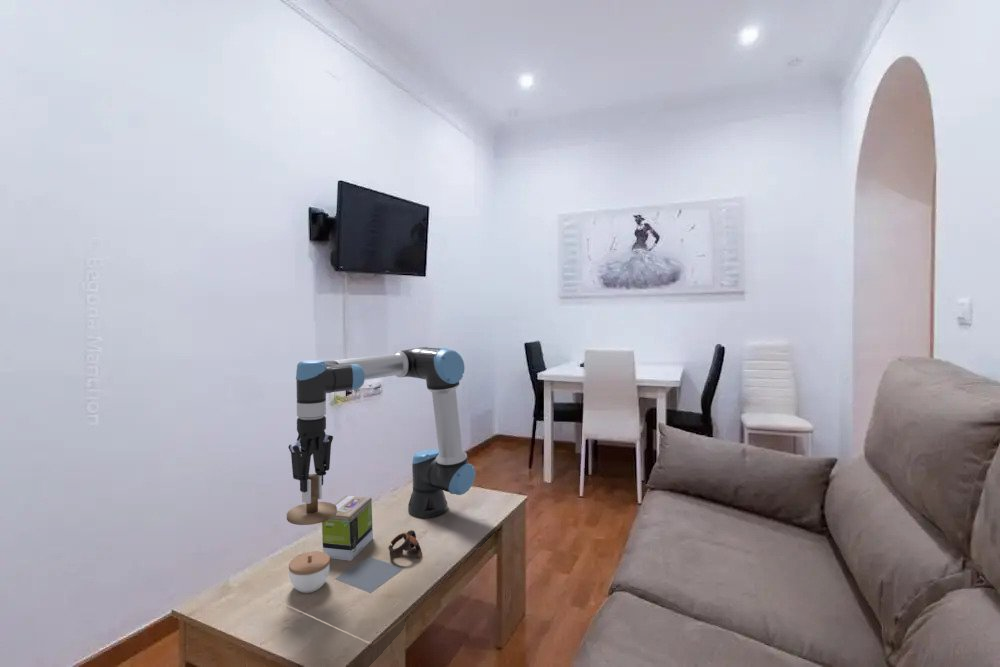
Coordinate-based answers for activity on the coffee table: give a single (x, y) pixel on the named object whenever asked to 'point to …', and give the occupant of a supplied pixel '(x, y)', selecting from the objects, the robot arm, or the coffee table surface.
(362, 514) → the tea box
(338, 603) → the coffee table surface
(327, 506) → the tan wooden handled piece
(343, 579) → the mat
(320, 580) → the lidded jar
